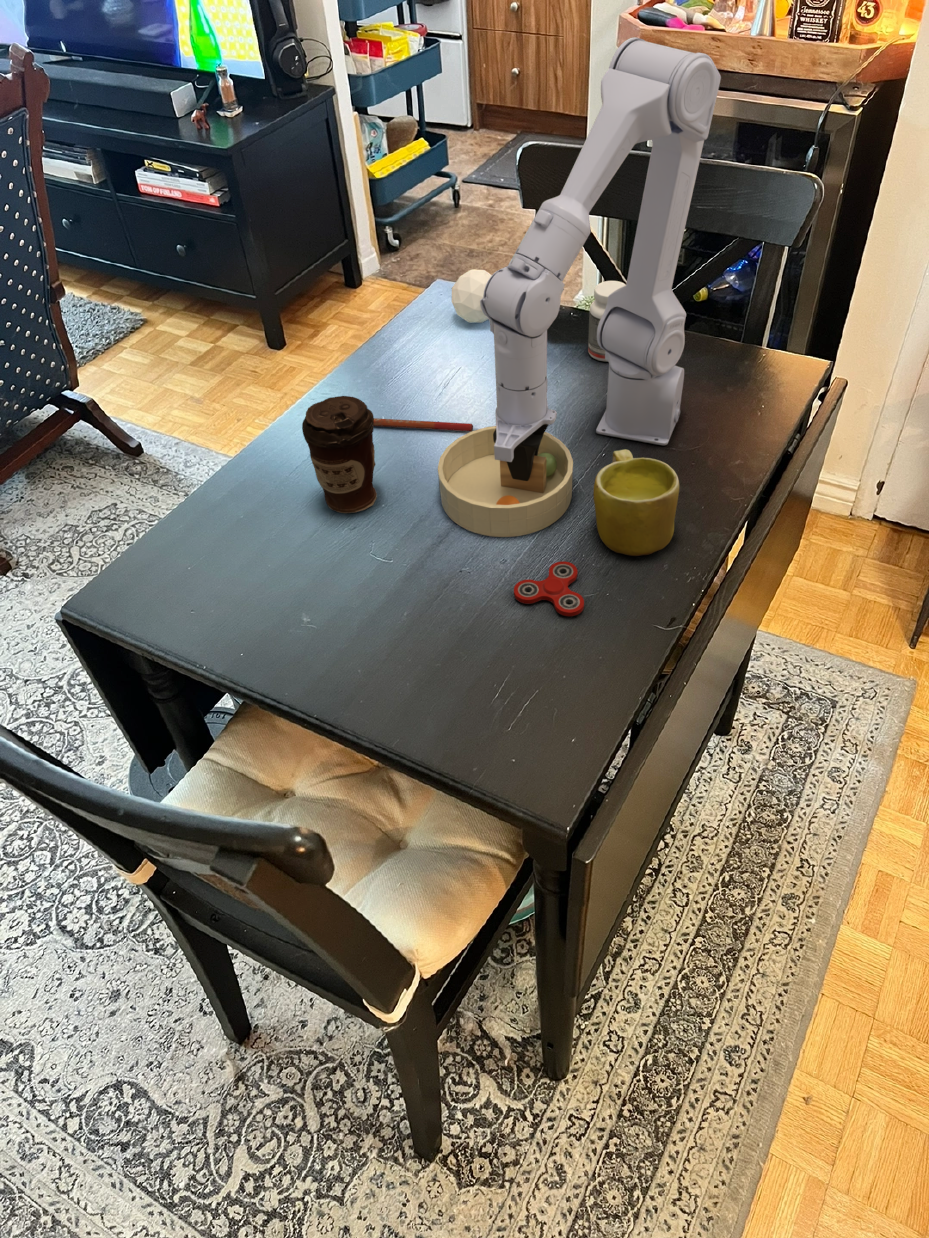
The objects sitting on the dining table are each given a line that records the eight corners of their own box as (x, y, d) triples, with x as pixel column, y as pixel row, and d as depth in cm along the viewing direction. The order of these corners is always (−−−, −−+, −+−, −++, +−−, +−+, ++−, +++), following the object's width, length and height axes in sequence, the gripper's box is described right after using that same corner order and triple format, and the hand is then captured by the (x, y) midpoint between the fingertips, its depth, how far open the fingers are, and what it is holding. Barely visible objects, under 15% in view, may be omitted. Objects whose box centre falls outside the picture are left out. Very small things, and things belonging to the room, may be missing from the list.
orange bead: (526, 513, 109) (519, 521, 106) (504, 518, 110) (496, 526, 108) (519, 489, 108) (512, 497, 105) (496, 495, 109) (489, 503, 107)
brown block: (543, 493, 112) (543, 464, 108) (500, 486, 113) (499, 456, 110) (546, 486, 113) (546, 457, 109) (503, 479, 114) (502, 450, 111)
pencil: (473, 428, 122) (473, 422, 122) (472, 433, 122) (472, 426, 121) (338, 420, 126) (337, 415, 125) (336, 425, 125) (335, 419, 124)
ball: (489, 338, 144) (501, 314, 136) (441, 322, 142) (450, 297, 135) (500, 296, 145) (513, 269, 137) (452, 279, 144) (462, 252, 136)
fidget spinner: (509, 601, 100) (509, 592, 99) (535, 558, 105) (535, 550, 104) (577, 621, 97) (577, 613, 96) (601, 577, 102) (602, 569, 101)
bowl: (588, 467, 116) (589, 437, 112) (547, 549, 105) (547, 520, 102) (469, 444, 120) (467, 415, 117) (420, 521, 110) (416, 492, 107)
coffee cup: (374, 525, 110) (358, 436, 101) (309, 519, 112) (287, 431, 102) (392, 480, 116) (379, 392, 107) (330, 475, 118) (312, 388, 108)
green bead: (556, 480, 112) (563, 466, 114) (548, 460, 111) (555, 446, 112) (534, 483, 114) (541, 468, 116) (526, 463, 112) (533, 449, 114)
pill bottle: (629, 362, 132) (634, 297, 124) (589, 364, 132) (592, 299, 125) (624, 341, 135) (629, 277, 128) (586, 343, 136) (589, 279, 129)
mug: (696, 554, 101) (675, 477, 95) (606, 576, 104) (581, 502, 98) (687, 501, 110) (667, 428, 105) (604, 523, 113) (582, 453, 108)
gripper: (537, 418, 96) (537, 517, 106) (573, 348, 105) (570, 444, 115) (474, 409, 98) (480, 506, 108) (514, 340, 107) (516, 436, 117)
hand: (522, 474), depth 111 cm, fingers closed on brown block, 1 cm apart
